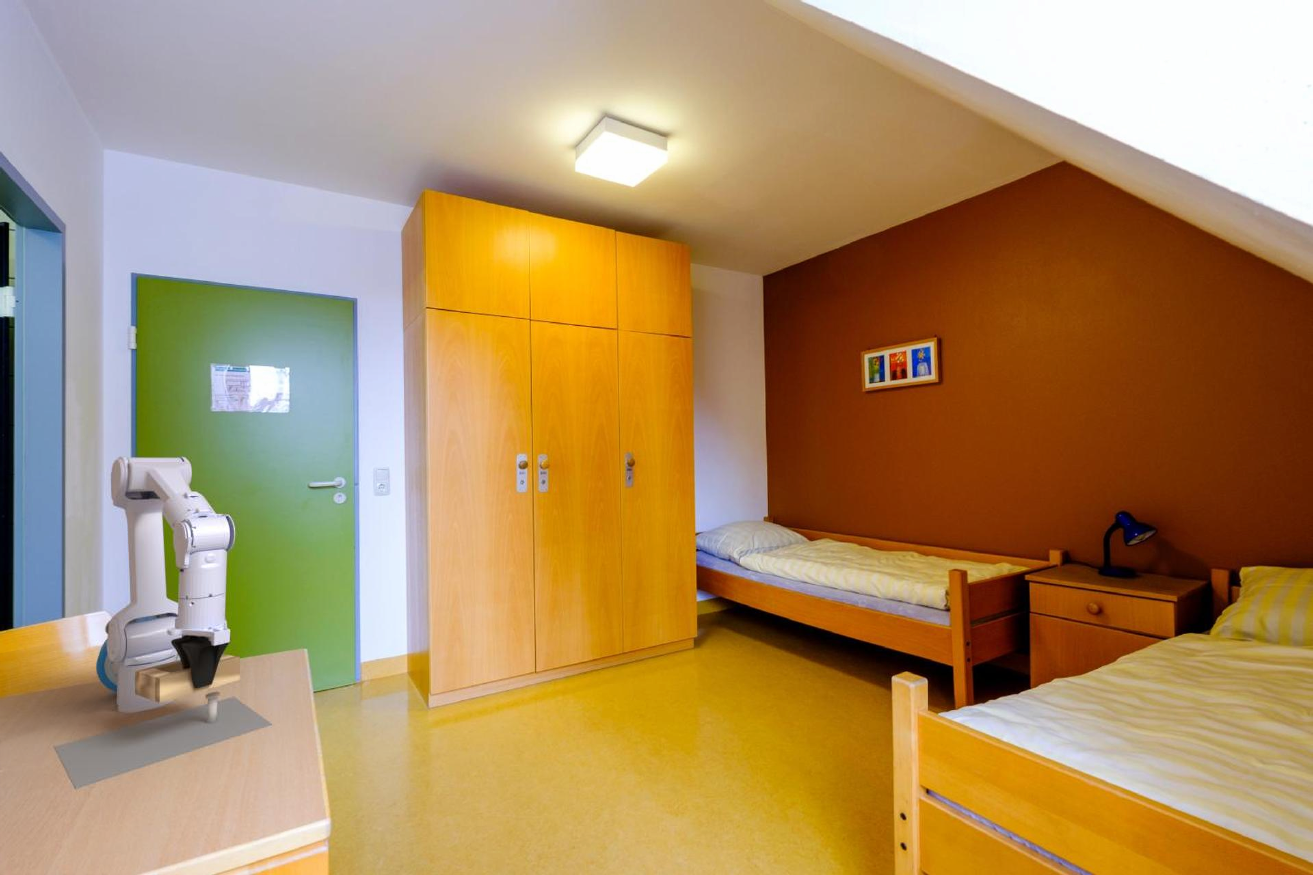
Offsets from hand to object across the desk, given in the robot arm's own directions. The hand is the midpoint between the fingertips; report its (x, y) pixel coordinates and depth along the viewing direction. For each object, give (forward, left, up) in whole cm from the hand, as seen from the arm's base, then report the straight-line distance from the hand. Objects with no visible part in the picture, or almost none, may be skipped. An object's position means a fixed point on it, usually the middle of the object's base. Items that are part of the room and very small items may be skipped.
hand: (199, 684), depth 86 cm
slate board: (-4, -3, -9) cm, 10 cm away
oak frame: (-4, 0, -1) cm, 4 cm away
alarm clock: (-34, 0, -9) cm, 35 cm away
